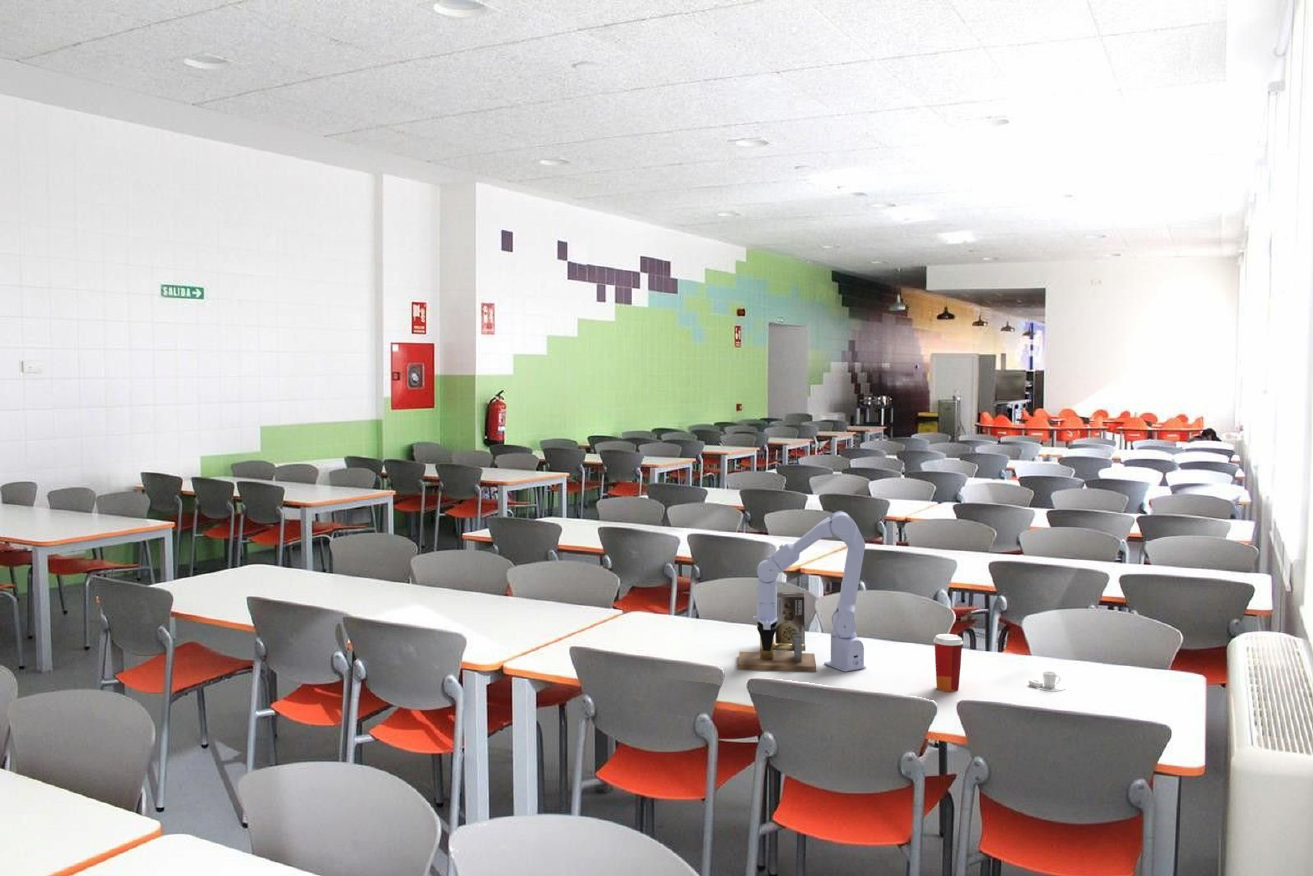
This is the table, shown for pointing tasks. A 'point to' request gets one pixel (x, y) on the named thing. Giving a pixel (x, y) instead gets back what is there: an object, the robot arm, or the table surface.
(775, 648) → the gold cylinder with rod
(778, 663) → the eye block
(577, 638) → the table surface
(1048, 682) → the teacup and saucer
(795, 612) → the coffee box
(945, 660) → the paper cup
